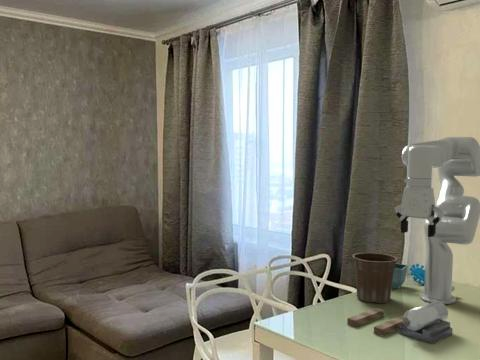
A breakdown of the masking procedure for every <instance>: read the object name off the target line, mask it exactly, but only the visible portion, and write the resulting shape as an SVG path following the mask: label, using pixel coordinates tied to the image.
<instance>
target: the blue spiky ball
mask: <svg viewBox="0 0 480 360" xmlns="http://www.w3.org/2000/svg"><path fill="white" fill-rule="evenodd" d="M409 271H410V272H409V275H410V276H413V277H412V279H413V281H414V282H416V281H417V283H418V284H421V285H423V286H425V265H423V264H422V265H420V264H419V263H415V264H412V265H411V267H410V268H409Z"/></svg>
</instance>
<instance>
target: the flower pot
mask: <svg viewBox="0 0 480 360" xmlns="http://www.w3.org/2000/svg"><path fill="white" fill-rule="evenodd" d="M408 266H409V265H408V264H401V263H396V264H395V270H394V273H393V280H392V288H391V289H397V290H398V289H400V288H401V287H402V286H403V285H404V282H405V280H406V278H407V272H408Z"/></svg>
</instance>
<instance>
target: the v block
mask: <svg viewBox="0 0 480 360" xmlns="http://www.w3.org/2000/svg"><path fill="white" fill-rule="evenodd" d="M398 334H401V335H403V336H406V337H409V338H411V339H412V338H413V339H416V340H419V341H422V342H425V343H428V344H430V345H434V344H436V343H438V342H439V341H441V340H444V339H446V338H447V337H450V336H452V335H453V327H451V322H450V321H447V320H442V321H440V322H438V323H435V324H432V325H430V326H427V327H424V328H422V329H419V330H416V331H413V330H410V329H408V328H407V327H406V325H405V324H404V322H402V323H401V326H400V327H399V329H398Z"/></svg>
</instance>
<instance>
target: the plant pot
mask: <svg viewBox="0 0 480 360" xmlns="http://www.w3.org/2000/svg"><path fill="white" fill-rule="evenodd" d="M352 258H353V262H354V263H353V264H354V268H355V284H356V285H355V286H356V297H357V299H358V300H360V301H362V302H366V303H374V302H375V303H376V304H384V303H385V304H386V303H389V302H390V301H391V296H392V294H391V293H392V289H393V288H392V280H393V273H394V270H395V264H397V262H398V257H396V256H394V255H391V254H387V253H386V254H385V253H379V252H359V253H354V254H352Z"/></svg>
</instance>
